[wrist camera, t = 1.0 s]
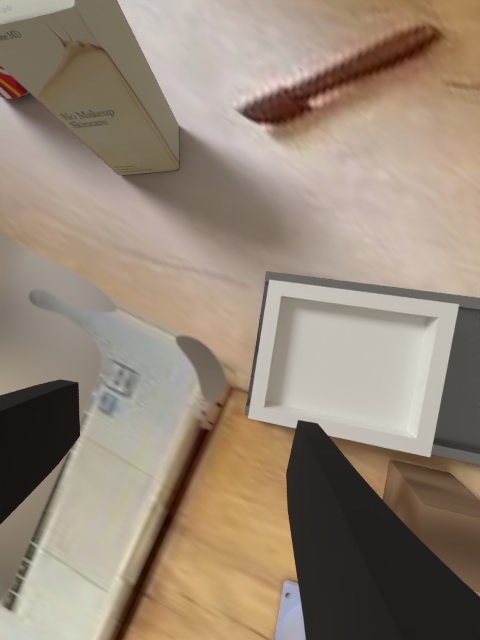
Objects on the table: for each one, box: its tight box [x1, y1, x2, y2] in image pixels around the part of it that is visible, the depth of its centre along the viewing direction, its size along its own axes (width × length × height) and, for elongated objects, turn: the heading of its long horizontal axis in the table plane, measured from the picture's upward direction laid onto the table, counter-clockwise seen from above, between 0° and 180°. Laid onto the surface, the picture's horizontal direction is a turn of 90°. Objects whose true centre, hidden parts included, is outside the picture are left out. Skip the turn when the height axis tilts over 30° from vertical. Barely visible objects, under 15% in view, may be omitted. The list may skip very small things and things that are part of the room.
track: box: [244, 271, 480, 465], centre depth 19 cm, size 12×23×3 cm, turn 81°
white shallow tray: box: [248, 280, 459, 457], centre depth 19 cm, size 10×12×4 cm
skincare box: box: [0, 0, 179, 175], centre depth 17 cm, size 6×4×12 cm
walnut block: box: [383, 460, 480, 592], centre depth 18 cm, size 4×4×5 cm
